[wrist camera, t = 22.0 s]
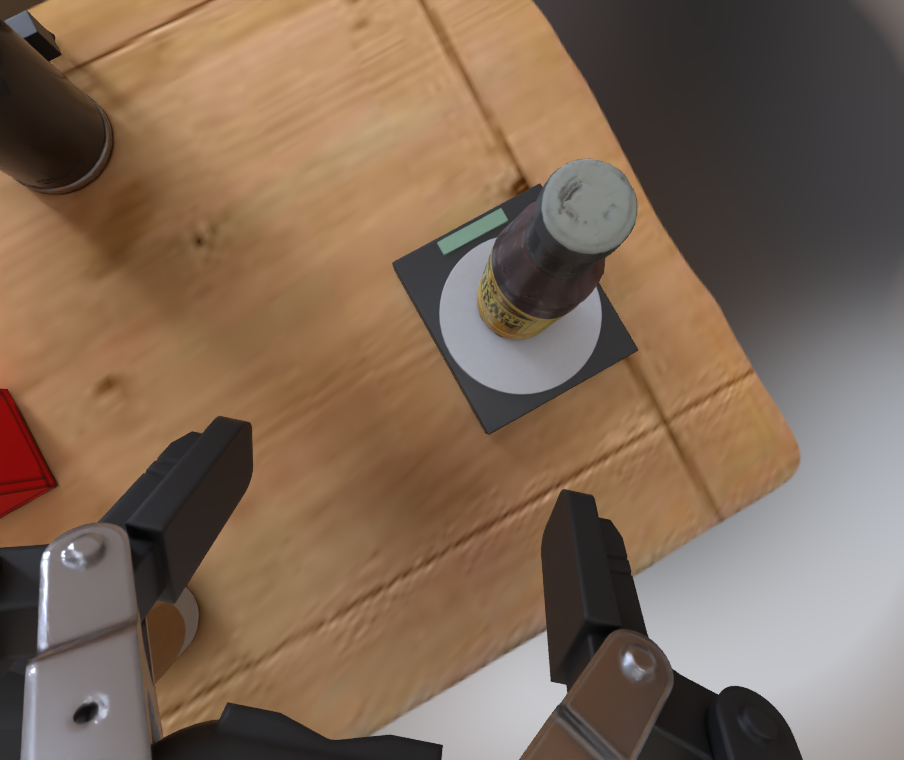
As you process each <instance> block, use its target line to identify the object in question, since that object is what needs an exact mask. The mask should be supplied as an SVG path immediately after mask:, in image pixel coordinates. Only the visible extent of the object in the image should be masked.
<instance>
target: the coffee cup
mask: <svg viewBox="0 0 904 760" xmlns="http://www.w3.org/2000/svg"><path fill="white" fill-rule="evenodd" d="M146 618H147V624H148V632H149V640H150V648H151V655H152V663H153V671H154V679H155V683H156V682H157V681H158V680H159V679H160V678H161V676H162V675H163V674H164V673H165V672H166V671H167V670H168V669H169V668H170V666H171V665H172V664H173V662H174V661H175V660H176V659H177V658H178V657H179V656H180V655H181V654H182V652H183V651H184V650H185V649H186V648H187V647H188V646H189V644H190V643H191V641H192V640H193V639H194V636H195V633H196V631H197V627H198V619H199V611H198V605H197V602H196V600H195V597H194V596H193V594H192V593H191V592H190V591H189V589H188V588H186V587H185V589H184V590H183V592H182V593H181V595H180V596H179V598H178V600H177V601H176V603H175V604H172V603H167V602H162V601H156V602H155V604H154V605H153V607H152V608H151V610H150V611H149V613H148V614H147V616H146ZM29 658H30V657H23V658H17V659H16V661H15V662H14V663H13V664H12V666H11V667H10V668H9V670H8V671H7V672H6V673H5V675H4V676H3V677H2V679H1V680H0V760H20V759H21V742H22V724H23V706H24V689H25V673H26V666H27V662H28V659H29Z"/></svg>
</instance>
